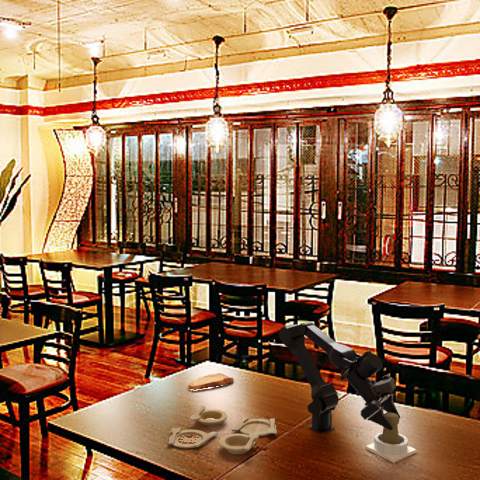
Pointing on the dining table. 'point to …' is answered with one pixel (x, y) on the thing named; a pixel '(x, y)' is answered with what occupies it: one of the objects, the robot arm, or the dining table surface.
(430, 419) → the dining table surface
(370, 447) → the guard dock
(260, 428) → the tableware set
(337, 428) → the dining table surface
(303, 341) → the robot arm
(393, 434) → the cork
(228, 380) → the bread slice
